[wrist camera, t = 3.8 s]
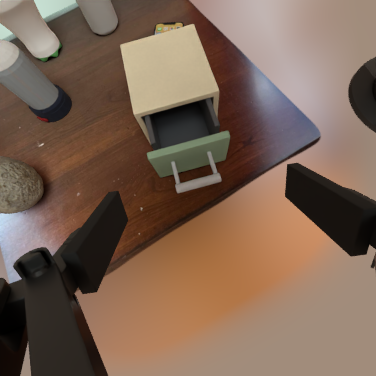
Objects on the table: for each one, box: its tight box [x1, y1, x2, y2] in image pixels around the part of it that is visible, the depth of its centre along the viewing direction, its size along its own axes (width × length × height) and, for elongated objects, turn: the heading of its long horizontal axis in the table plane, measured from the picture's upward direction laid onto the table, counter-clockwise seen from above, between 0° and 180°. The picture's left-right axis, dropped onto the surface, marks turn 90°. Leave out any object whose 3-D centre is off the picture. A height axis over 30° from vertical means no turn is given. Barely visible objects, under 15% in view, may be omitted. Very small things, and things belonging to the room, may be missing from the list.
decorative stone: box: [0, 156, 44, 214], centre depth 34 cm, size 10×8×10 cm
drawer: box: [145, 98, 230, 193], centre depth 33 cm, size 20×13×8 cm, turn 14°
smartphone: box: [154, 22, 184, 35], centre depth 46 cm, size 7×1×15 cm
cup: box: [0, 0, 62, 61], centre depth 44 cm, size 11×11×14 cm
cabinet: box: [120, 24, 219, 145], centre depth 37 cm, size 16×14×10 cm
